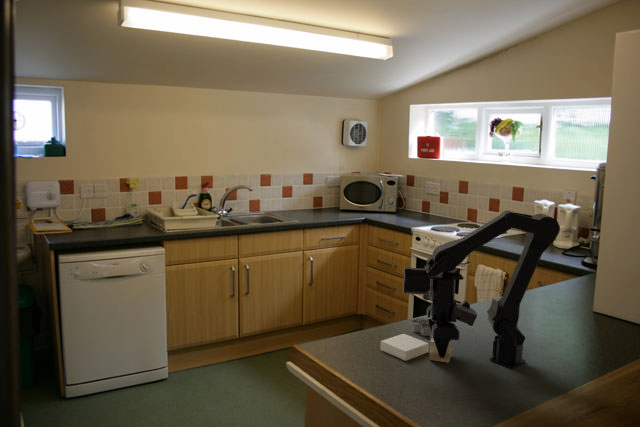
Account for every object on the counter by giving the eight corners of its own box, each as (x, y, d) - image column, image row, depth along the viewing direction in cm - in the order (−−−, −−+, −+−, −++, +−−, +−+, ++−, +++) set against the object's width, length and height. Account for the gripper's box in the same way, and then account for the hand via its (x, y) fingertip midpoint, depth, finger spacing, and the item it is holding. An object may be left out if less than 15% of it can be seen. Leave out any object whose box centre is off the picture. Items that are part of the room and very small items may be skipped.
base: (428, 352, 143) (428, 343, 143) (405, 360, 138) (405, 351, 137) (403, 342, 150) (403, 333, 150) (380, 349, 145) (380, 340, 144)
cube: (449, 362, 136) (449, 344, 136) (429, 359, 138) (430, 341, 137) (451, 355, 141) (452, 337, 140) (432, 352, 143) (433, 334, 142)
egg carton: (452, 336, 156) (452, 323, 155) (434, 341, 152) (434, 327, 151) (425, 325, 164) (425, 313, 164) (407, 330, 160) (408, 317, 160)
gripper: (482, 307, 127) (479, 369, 129) (469, 286, 146) (466, 341, 148) (434, 305, 128) (432, 367, 130) (427, 284, 147) (425, 339, 149)
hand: (440, 352), depth 139 cm, fingers closed on cube, 6 cm apart
